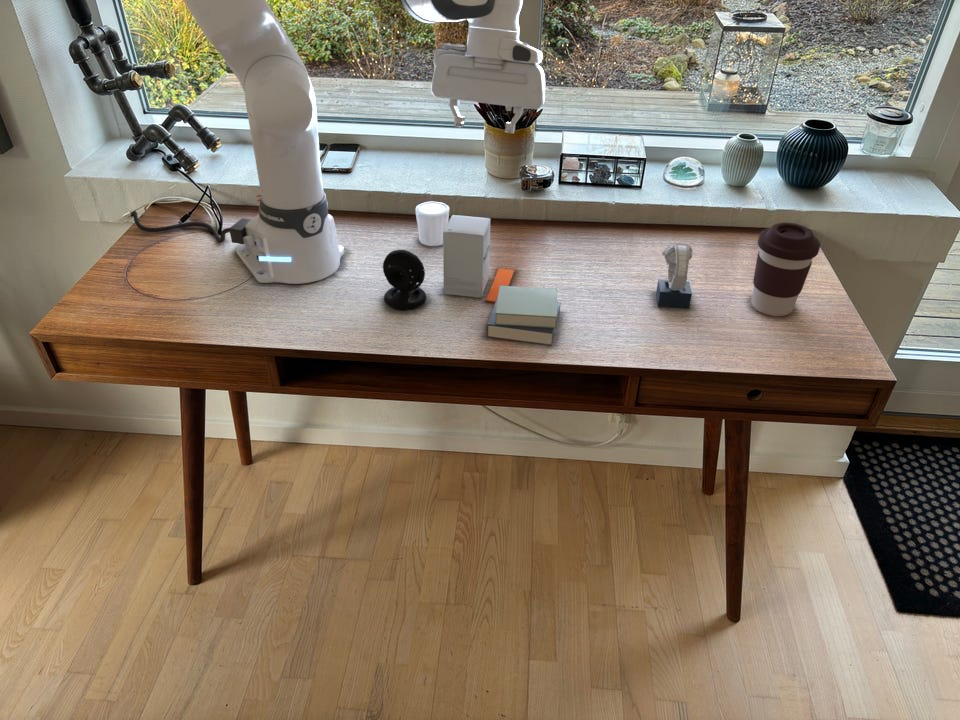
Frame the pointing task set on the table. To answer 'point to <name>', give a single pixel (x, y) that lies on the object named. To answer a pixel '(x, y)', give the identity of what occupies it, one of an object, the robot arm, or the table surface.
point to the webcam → (404, 280)
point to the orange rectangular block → (499, 283)
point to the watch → (675, 278)
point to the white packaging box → (466, 255)
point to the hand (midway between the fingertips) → (484, 129)
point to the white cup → (432, 222)
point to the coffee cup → (782, 267)
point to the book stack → (525, 315)
